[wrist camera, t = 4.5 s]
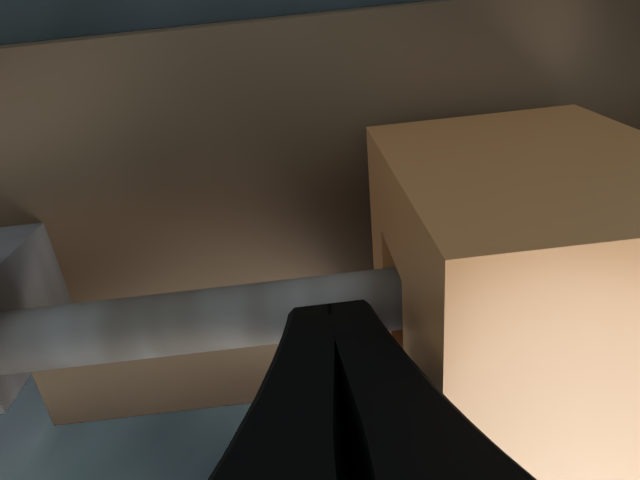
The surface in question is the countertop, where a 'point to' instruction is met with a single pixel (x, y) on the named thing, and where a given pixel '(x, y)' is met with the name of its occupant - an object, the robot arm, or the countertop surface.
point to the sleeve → (521, 277)
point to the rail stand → (241, 179)
